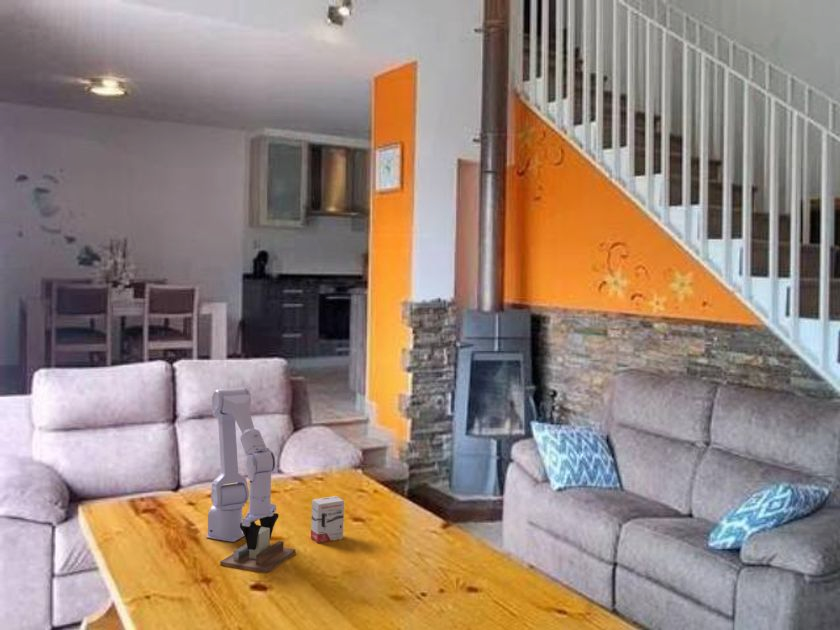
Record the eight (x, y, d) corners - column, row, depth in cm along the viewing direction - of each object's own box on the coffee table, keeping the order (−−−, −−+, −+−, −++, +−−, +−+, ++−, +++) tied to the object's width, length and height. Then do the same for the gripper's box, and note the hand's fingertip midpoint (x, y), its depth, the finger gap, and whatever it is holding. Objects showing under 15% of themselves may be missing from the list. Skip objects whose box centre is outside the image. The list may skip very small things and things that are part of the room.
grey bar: (233, 560, 209) (233, 551, 209) (256, 546, 220) (257, 537, 220) (238, 561, 208) (238, 552, 208) (261, 546, 220) (261, 538, 219)
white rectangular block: (249, 557, 211) (249, 532, 211) (259, 551, 216) (260, 526, 216) (258, 559, 210) (259, 534, 210) (269, 552, 215) (269, 528, 215)
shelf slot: (220, 565, 208) (220, 552, 208) (251, 545, 223) (252, 533, 223) (266, 573, 203) (266, 560, 203) (295, 552, 218) (295, 540, 218)
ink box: (317, 543, 226) (318, 503, 226) (310, 538, 230) (311, 499, 230) (343, 538, 231) (344, 499, 230) (336, 533, 235) (337, 495, 234)
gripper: (259, 504, 204) (258, 555, 205) (286, 490, 218) (285, 538, 218) (235, 501, 206) (234, 551, 207) (263, 487, 220) (262, 534, 221)
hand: (259, 544), depth 213 cm, fingers open, 7 cm apart
